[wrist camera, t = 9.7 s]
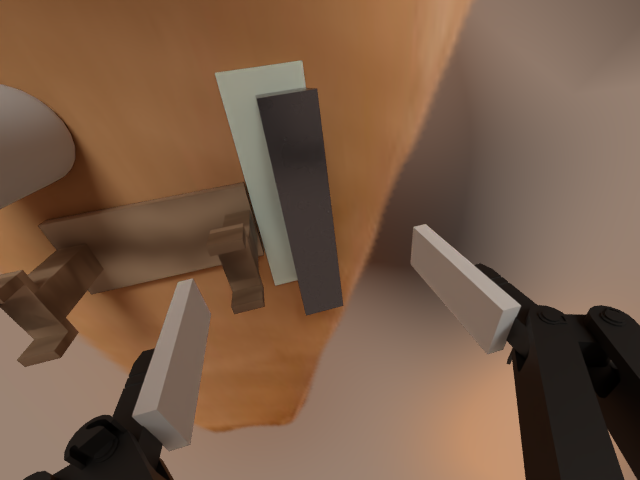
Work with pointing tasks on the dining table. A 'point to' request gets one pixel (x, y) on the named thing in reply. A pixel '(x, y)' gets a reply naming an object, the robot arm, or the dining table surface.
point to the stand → (133, 259)
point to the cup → (30, 146)
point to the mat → (261, 152)
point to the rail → (303, 192)
